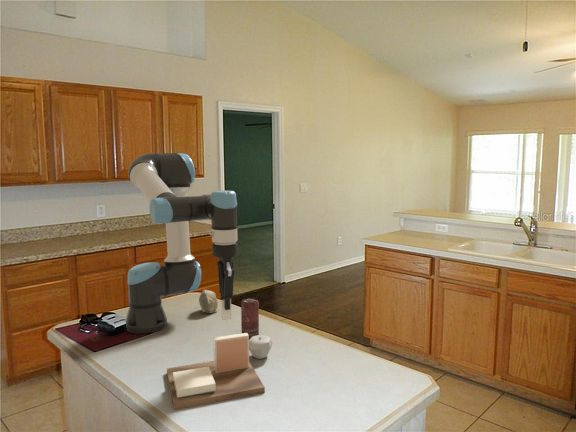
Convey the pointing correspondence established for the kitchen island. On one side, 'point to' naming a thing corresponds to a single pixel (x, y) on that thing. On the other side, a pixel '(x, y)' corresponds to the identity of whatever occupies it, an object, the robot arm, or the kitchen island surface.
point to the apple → (260, 346)
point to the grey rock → (208, 301)
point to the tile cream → (231, 352)
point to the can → (250, 316)
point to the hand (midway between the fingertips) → (226, 318)
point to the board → (218, 385)
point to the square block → (193, 382)
